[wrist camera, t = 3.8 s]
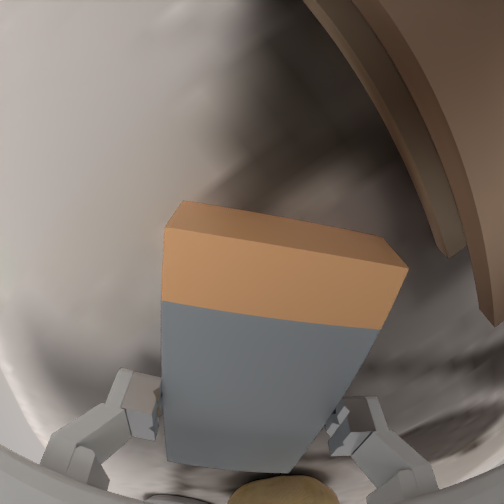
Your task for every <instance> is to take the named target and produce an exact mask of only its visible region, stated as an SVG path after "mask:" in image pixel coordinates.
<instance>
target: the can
mask: <svg viewBox="0 0 504 504" xmlns="http://www.w3.org/2000/svg"><path fill="white" fill-rule="evenodd" d="M144 501H146V502H150V503H155V504H208V503H205V502H202V501H199V500H195V499H190V498H185V497H180V496H172V495H154V496H152V497H150V498H149V499H147V500H144Z"/></svg>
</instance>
